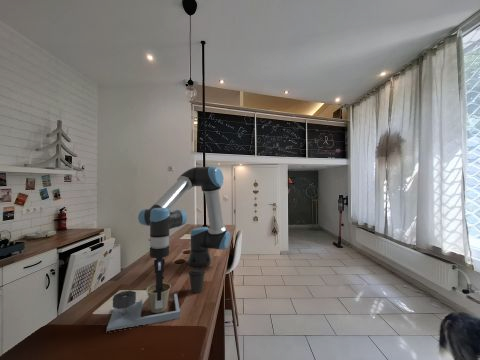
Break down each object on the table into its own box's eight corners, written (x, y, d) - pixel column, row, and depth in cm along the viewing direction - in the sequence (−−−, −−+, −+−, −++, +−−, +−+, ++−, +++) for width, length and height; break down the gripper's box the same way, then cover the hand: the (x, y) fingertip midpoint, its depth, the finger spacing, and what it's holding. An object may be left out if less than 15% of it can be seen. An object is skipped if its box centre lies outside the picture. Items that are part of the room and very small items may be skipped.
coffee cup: (208, 288, 111) (208, 268, 112) (200, 295, 104) (200, 274, 104) (193, 286, 114) (194, 266, 114) (184, 293, 106) (185, 271, 107)
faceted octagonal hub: (136, 297, 91) (136, 289, 91) (134, 306, 84) (134, 298, 84) (115, 300, 89) (115, 292, 89) (111, 310, 82) (111, 301, 82)
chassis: (176, 298, 101) (177, 281, 101) (179, 318, 86) (180, 297, 86) (115, 309, 92) (115, 289, 93) (106, 332, 77) (106, 309, 78)
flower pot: (156, 318, 84) (156, 295, 84) (141, 311, 89) (141, 289, 89) (175, 307, 92) (175, 286, 92) (160, 301, 97) (160, 281, 97)
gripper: (150, 240, 100) (150, 290, 100) (148, 254, 80) (147, 318, 79) (168, 239, 103) (167, 288, 102) (170, 252, 82) (169, 314, 82)
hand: (158, 301), depth 91 cm, fingers open, 9 cm apart
